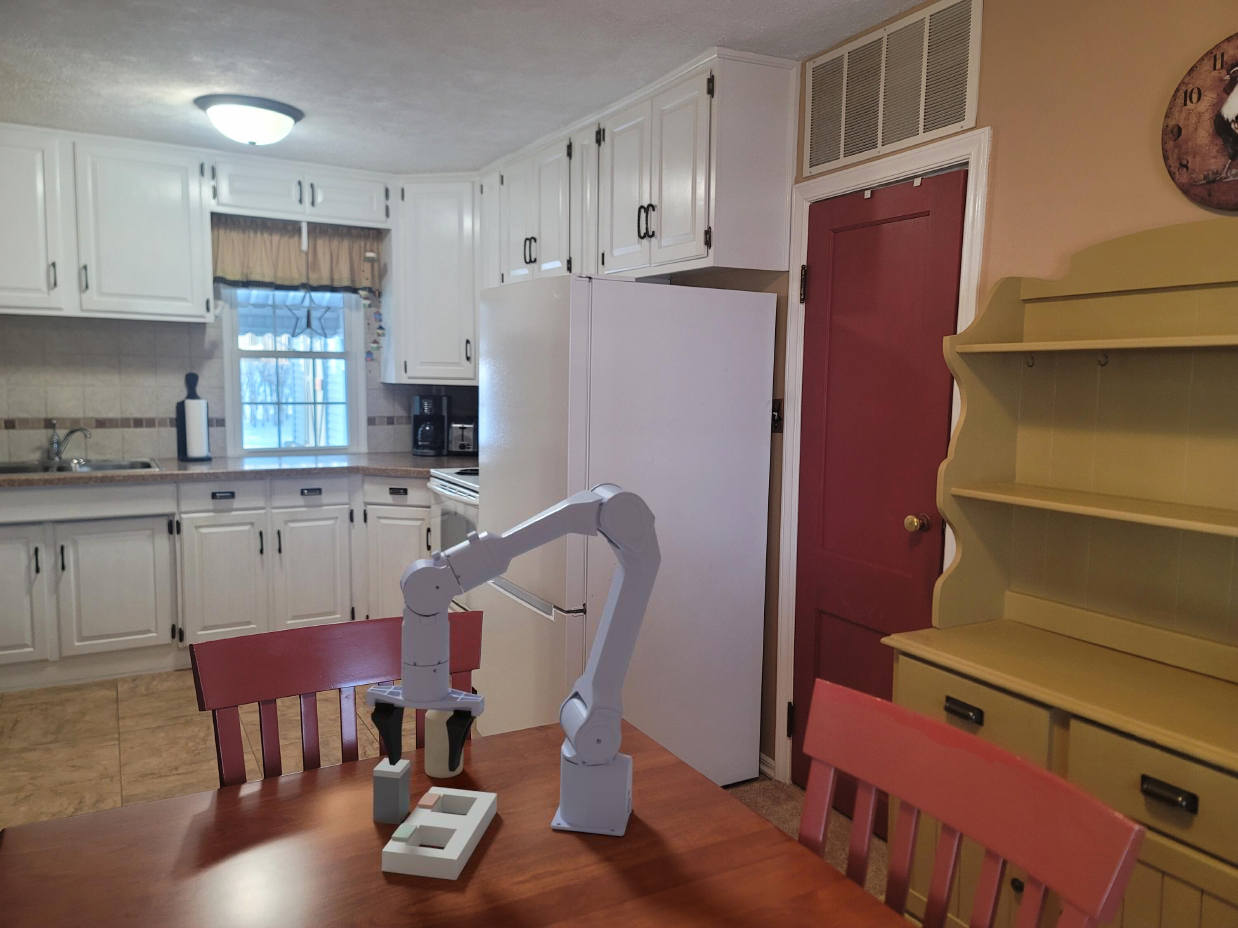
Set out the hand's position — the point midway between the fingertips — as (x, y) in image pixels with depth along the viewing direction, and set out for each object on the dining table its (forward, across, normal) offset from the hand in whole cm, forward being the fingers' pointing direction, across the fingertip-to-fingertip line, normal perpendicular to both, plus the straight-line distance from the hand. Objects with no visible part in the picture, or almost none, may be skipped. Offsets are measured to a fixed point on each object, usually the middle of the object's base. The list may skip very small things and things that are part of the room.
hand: (424, 764), depth 108 cm
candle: (+10, +4, -18) cm, 21 cm away
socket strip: (+9, -2, 0) cm, 10 cm away
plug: (+9, +6, -4) cm, 12 cm away
